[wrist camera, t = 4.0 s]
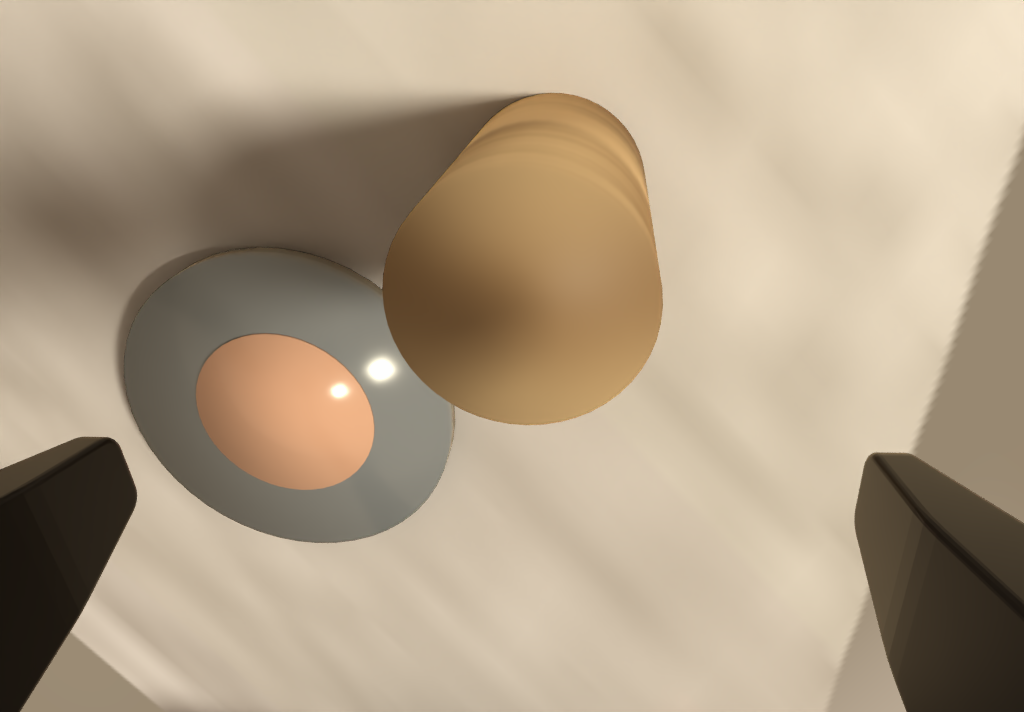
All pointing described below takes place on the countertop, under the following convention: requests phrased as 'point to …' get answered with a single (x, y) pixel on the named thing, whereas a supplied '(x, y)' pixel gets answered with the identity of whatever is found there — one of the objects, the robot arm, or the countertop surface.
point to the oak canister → (530, 267)
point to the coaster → (285, 396)
